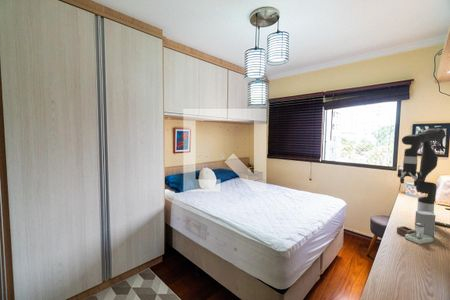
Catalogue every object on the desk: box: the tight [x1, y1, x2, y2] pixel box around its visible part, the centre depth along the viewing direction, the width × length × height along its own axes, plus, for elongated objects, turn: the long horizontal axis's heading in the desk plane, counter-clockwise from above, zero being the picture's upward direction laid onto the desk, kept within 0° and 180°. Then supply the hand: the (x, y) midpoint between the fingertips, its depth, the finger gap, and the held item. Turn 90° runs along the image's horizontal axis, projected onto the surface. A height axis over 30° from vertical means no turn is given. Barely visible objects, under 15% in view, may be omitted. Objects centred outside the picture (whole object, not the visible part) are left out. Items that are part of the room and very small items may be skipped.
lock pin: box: [414, 222, 425, 240], centre depth 134 cm, size 5×5×10 cm
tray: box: [404, 233, 434, 245], centre depth 134 cm, size 13×8×2 cm, turn 105°
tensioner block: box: [396, 226, 415, 237], centre depth 142 cm, size 7×7×4 cm
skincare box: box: [414, 210, 437, 238], centre depth 141 cm, size 8×7×16 cm
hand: (408, 184), depth 149 cm, fingers open, 8 cm apart
